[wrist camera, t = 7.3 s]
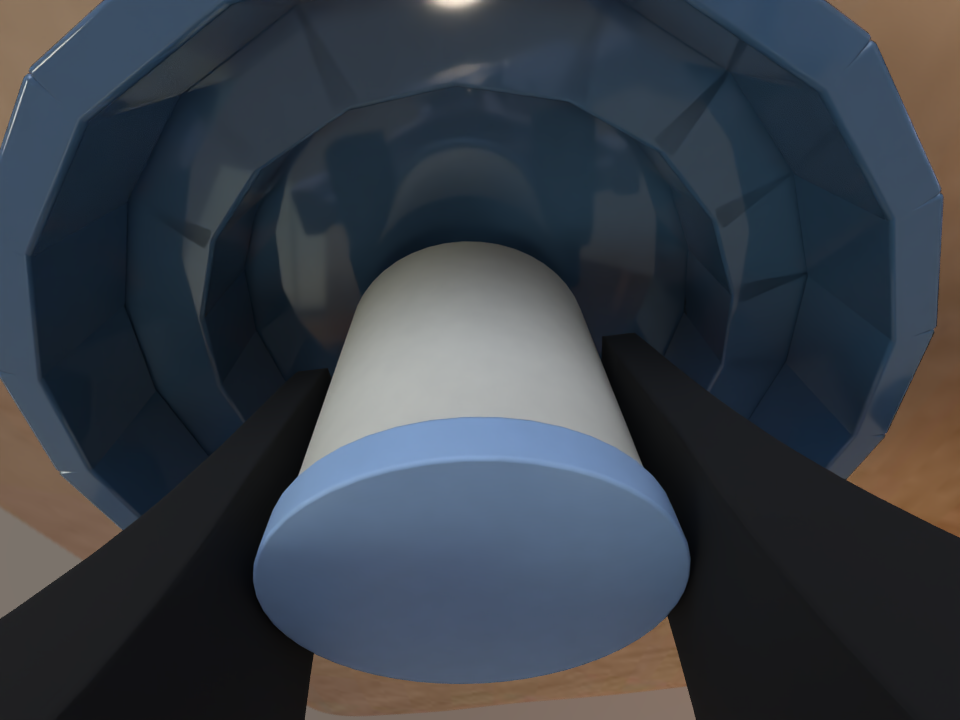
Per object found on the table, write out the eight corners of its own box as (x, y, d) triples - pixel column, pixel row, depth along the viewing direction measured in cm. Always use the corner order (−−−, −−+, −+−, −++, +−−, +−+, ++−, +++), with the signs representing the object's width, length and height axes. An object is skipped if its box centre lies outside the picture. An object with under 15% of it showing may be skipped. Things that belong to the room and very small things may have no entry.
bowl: (857, 290, 12) (1050, 428, 8) (481, 533, 18) (487, 681, 14) (436, -364, 6) (388, -1072, 2) (78, 323, 12) (-112, 481, 8)
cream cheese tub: (641, 342, 11) (773, 587, 6) (475, 465, 13) (483, 709, 8) (458, 170, 8) (456, 363, 4) (295, 358, 11) (173, 617, 6)
